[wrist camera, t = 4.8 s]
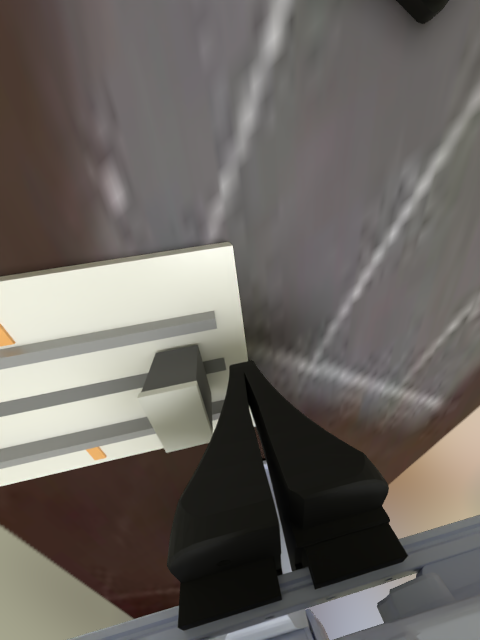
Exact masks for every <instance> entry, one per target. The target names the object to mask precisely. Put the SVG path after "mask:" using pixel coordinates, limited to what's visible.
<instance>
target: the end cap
mask: <svg viewBox="0 0 480 640" xmlns="http://www.w3.org/2000/svg"><path fill="white" fill-rule="evenodd" d="M396 1H397V2H398V3H399V4H400V5H401V6H402V7H403V8H404V9H405V10H406V11H407V12H408V13H409V14H410V15H411V16H412V17H413V18H414V19H415V20H416V21H417V22H420V23H422V24H424V23H426V22H428V21H429V20H431V19H432V18H433V17H434V16H435V15H437V14H438V13H439V12H440V11H441V10H442V9H443V8H444V7H445V5H446V4H447V2H448V1H449V0H396Z"/></svg>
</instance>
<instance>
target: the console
mask: <svg viewBox="0 0 480 640" xmlns="http://www.w3.org/2000/svg"><path fill="white" fill-rule="evenodd" d="M194 345H198V347H199V350H200V354H201V357H202V361H203V365H204V368H205V372H206V376H207V379H208V383H209V386H210V390H211V397H212V423H213V433H214V430H215V428H216V425H217V422H218V419H219V417H220V414H221V410H222V407H223V403H224V400H225V396H226V391H227V386H228V381H229V366H230V365H232V364H237V363H242V362H247V361H248V355H247V348H246V341H245V333H244V326H243V319H242V311H241V304H240V296H239V289H238V282H237V274H236V267H235V260H234V252H233V245H231V244H230V243H229V242H223V243H216V244H210V245H203V246H197V247H190V248H184V249H177V250H171V251H164V252H158V253H151V254H145V255H138V256H131V257H125V258H118V259H112V260H105V261H99V262H92V263H86V264H79V265H73V266H66V267H60V268H53V269H47V270H40V271H34V272H27V273H21V274H14V275H7V276H1V277H0V486H4V485H8V484H13V483H17V482H21V481H25V480H30V479H34V478H38V477H42V476H47V475H51V474H55V473H59V472H64V471H68V470H72V469H76V468H81V467H85V466H89V465H93V464H98V463H102V462H106V461H110V460H115V459H119V458H123V457H127V456H132V455H136V454H140V453H144V452H149V451H153V450H157V449H161V448H164V447H163V446H162V444H161V442H160V440H159V438H158V436H157V434H156V432H155V431H154V429H153V427H152V425H151V423H150V421H149V419H148V418H147V416H146V414H145V412H144V410H143V408H142V406H141V405H140V403H139V401H138V399H137V397H138V394H139V393H140V392H141V391H142V389H143V386H144V383H145V381H146V378H147V375H148V372H149V370H150V367H151V364H152V362H153V359H154V356H155V354H156V353H158V352H163V351H168V350H173V349H178V348H183V347H189V346H194ZM249 410H250V407H249ZM250 414H251V418H252V422H253V426H254V427H255V426H256V425H255V422H254V419H253V416H252V413H251V410H250Z"/></svg>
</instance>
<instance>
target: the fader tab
mask: <svg viewBox="0 0 480 640" xmlns="http://www.w3.org/2000/svg"><path fill="white" fill-rule="evenodd" d="M137 399H138V401H139V403H140V405H141V406H142V408H143V410H144V412H145V414H146V416H147V418H148V419H149V421H150V423H151V425H152V427H153V429H154V431H155V432H156V434H157V436H158V438H159V440H160V442H161V444H162V446H163V447H164V449H165V451H166V453H168V452H172V451H176V450H181V449H185V448H189V447H193V446H197V445H202V444H206V443H209V442H210V440H211V437H212V435H213V423H212V397H211V390H210V386H209V383H208V379H207V376H206V372H205V368H204V365H203V361H202V357H201V354H200V350H199V347H198V345H194V346H189V347H183V348H178V349H173V350H168V351H163V352H158V353H156V354H155V356H154V359H153V362H152V364H151V367H150V370H149V372H148V375H147V378H146V381H145V383H144V386H143V389H142V391H141V392H140V393H139V394H138V397H137Z"/></svg>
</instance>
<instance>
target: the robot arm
mask: <svg viewBox="0 0 480 640" xmlns="http://www.w3.org/2000/svg"><path fill="white" fill-rule="evenodd" d="M249 407H250V410H251V413H252V416H253V419H254V422H255V425H256V428H257V431H258V434H259V437H260V440H261V443H262V447H263V450H264V454H265V458H266V460H265V461H263V460H262V457H261V453H260V449H259V445H258V442H257V438H256V434H255V430H254V426H253V422H252V418H251V414H250V410H249ZM388 489H389V487H388V484H387V482H386V481H385V479H384V478H383V477H382V475H381V474H380V472H379V471H378V470H377V468H376V467H375V466H374V465H373V464H372V462H371V461H370V460H369V459H368V458H367V456H366V455H365V454H364V453H362V452H360V451H359V450H357V449H355V448H353V447H352V446H350V445H348V444H347V443H345V442H343V441H342V440H340V439H338V438H337V437H335V436H334V435H332V434H330V433H329V432H327V431H326V430H324V429H323V428H321V427H320V426H319V425H317V424H316V423H314V422H313V421H312V420H310V419H309V418H307V417H306V416H305V415H304V414H302V413H301V412H300V411H299V410H297V409H296V408H295V407H294V406H293V405H291V404H290V403H289V402H288V401H287V400H286V399H285V398H284V397H283V396H282V395H281V394H280V393H279V392H278V391H277V390H276V389H275V388H274V387H273V386H272V385H271V384H270V383H269V382H268V380H267V379H266V378H265V377H264V376H263V375H262V373H261V372H260V371H259V369H258V368H257V367H256V365H255V363H254V362H253V361H247V362H242V363H237V364H232V365H230V366H229V381H228V386H227V391H226V396H225V400H224V403H223V407H222V410H221V414H220V417H219V419H218V422H217V425H216V428H215V430H214V433H213V435H212V437H211V440H210V442H209V444H208V447H207V449H206V451H205V453H204V455H203V457H202V459H201V461H200V463H199V465H198V467H197V469H196V471H195V473H194V474H193V476H192V478H191V480H190V481H189V483H188V485H187V487H186V488H185V490H184V492H183V494H182V495H181V497H180V499H179V502H178V505H177V509H176V512H175V516H174V520H173V525H172V530H171V535H170V542H169V552H168V561H167V567H168V569H169V570H170V572H171V573H172V574H173V575H174V576H175V577H176V578H177V579H178V580H179V581H180V582H181V584H180V599H179V606H176V607H173V608H170V609H167V610H163V611H160V612H157V613H153V614H150V615H147V616H143V617H140V618H137V619H133V620H130V621H127V622H124V623H120V624H117V625H114V626H110V627H107V628H104V629H100V630H97V631H94V632H90V633H87V634H84V635H81V636H78V637H75V638H71V639H67V640H329V638H328V636H327V633H326V631H325V629H324V627H323V625H322V624H321V622H320V621H319V620H318V619H317V618H316V617H315V615H314V614H313V612H312V611H311V610H309V609H307V610H305V609H306V608H309V607H312V606H315V605H318V604H321V603H325V602H328V601H331V600H334V599H337V598H340V597H343V596H346V595H349V594H353V593H356V592H359V591H362V590H365V589H368V588H371V587H374V586H377V585H381V584H384V583H386V582H390V581H393V580H396V579H399V578H402V577H405V576H408V575H412V574H415V573H417V575H416V578H415V579H413V580H411V581H408V582H406V583H404V584H402V585H400V586H397V587H395V588H393V589H390V594H389V595H388V596H387V597H386V598H384V599H383V600H381V601H380V602H378V605H377V608H378V610H379V612H380V614H381V617H382V619H383V621H384V624H381V625H377V626H374V627H371V628H368V629H365V630H361V631H358V632H355V633H352V634H349V635H346V636H343V637H340V638H337V639H334V640H480V515H477V516H474V517H471V518H467V519H464V520H461V521H458V522H454V523H451V524H448V525H444V526H441V527H438V528H434V529H431V530H428V531H425V532H422V533H418V534H415V535H412V536H408V537H405V538H401V539H398V538H397V536H396V535H395V533H394V531H393V530H392V528H391V526H390V525H389V522H390V519H389V517H388V515H387V513H386V512H385V510H384V509H383V507H382V504H383V502H384V500H385V498H386V496H387V494H388Z"/></svg>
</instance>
